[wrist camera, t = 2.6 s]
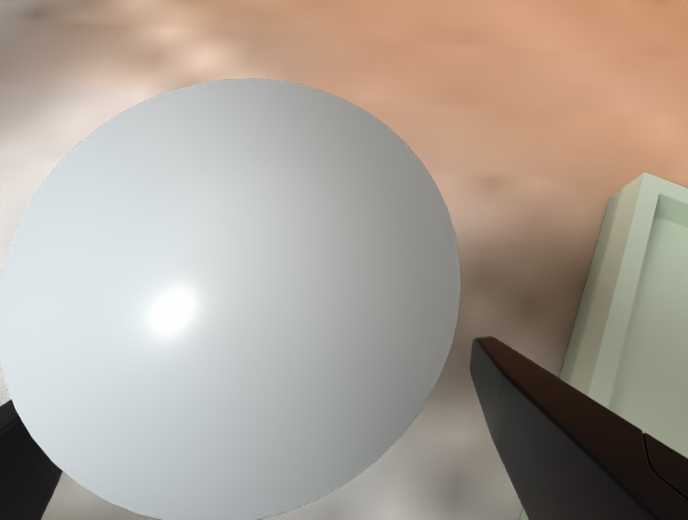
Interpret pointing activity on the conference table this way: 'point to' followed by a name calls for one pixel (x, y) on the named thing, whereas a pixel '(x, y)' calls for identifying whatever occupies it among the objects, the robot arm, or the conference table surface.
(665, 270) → the tray
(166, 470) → the white rounded capsule
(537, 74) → the conference table surface
